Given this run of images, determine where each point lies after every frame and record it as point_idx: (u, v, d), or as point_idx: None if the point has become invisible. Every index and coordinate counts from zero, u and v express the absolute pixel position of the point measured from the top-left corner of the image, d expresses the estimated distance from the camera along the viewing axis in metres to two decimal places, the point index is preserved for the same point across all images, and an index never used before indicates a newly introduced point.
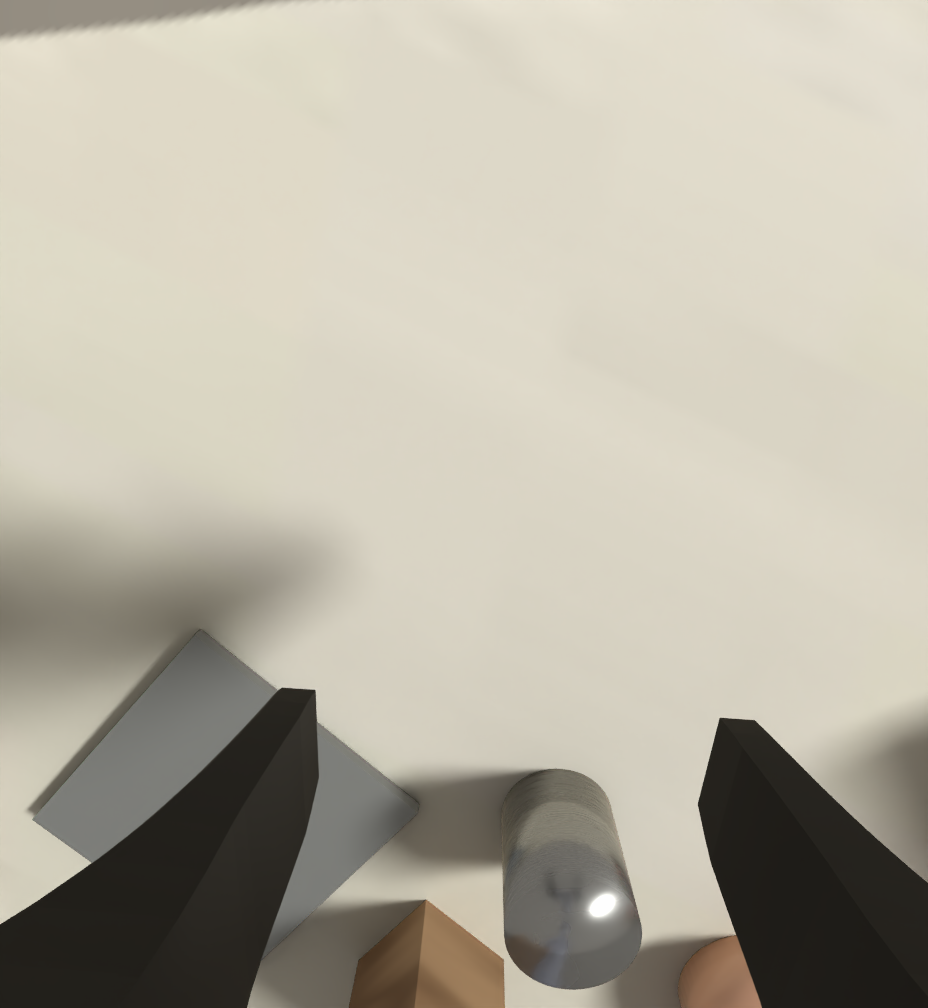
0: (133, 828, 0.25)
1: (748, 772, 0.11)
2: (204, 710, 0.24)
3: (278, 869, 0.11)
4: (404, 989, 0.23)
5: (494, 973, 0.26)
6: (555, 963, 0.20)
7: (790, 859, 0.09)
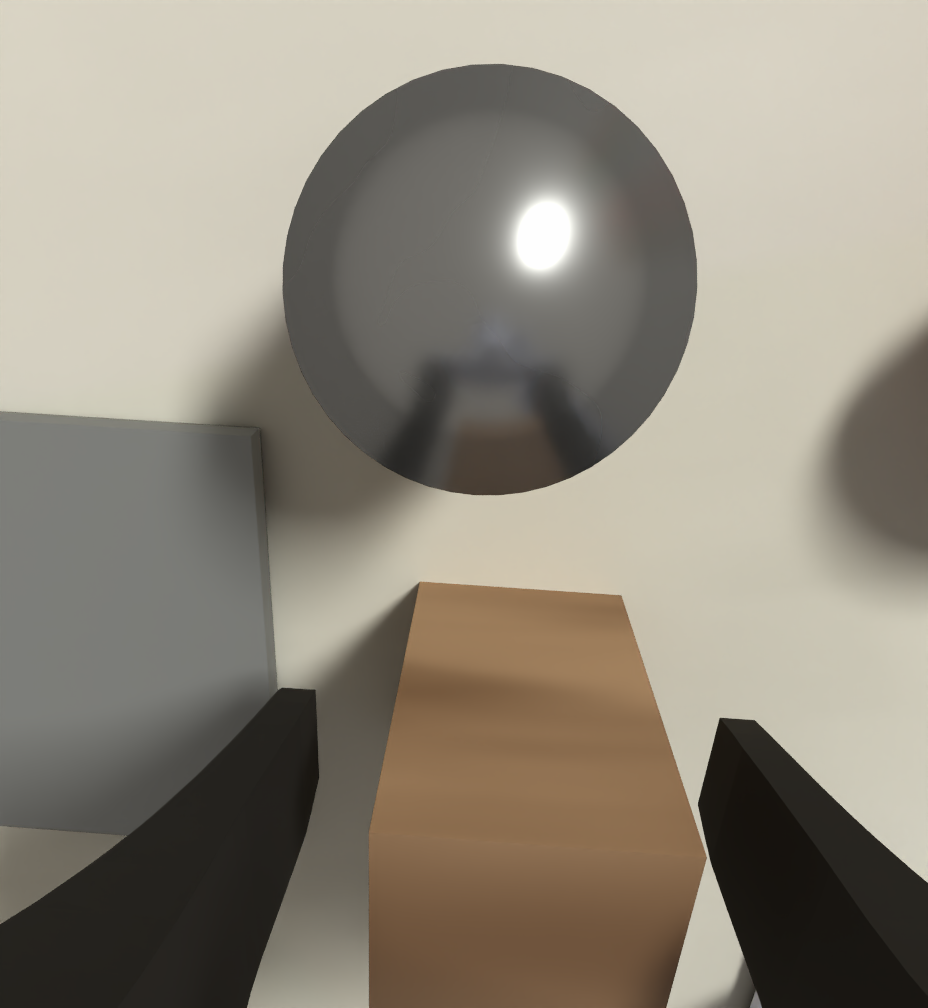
0: None
1: (748, 772, 0.11)
2: None
3: (278, 869, 0.11)
4: None
5: (602, 618, 0.13)
6: (514, 415, 0.07)
7: (790, 859, 0.09)
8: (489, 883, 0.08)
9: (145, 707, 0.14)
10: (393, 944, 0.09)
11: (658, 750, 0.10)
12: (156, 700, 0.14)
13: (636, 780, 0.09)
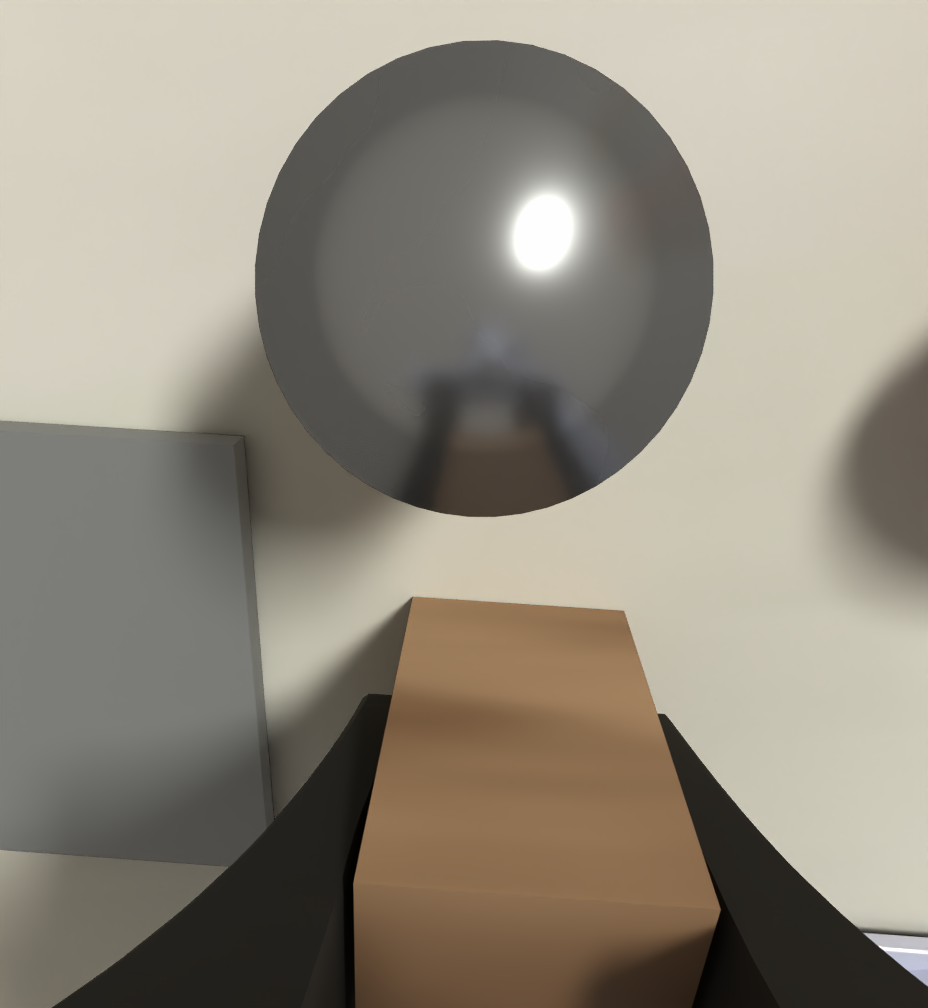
0: None
1: None
2: None
3: None
4: None
5: (604, 636, 0.12)
6: (511, 431, 0.06)
7: None
8: (483, 936, 0.08)
9: (127, 726, 0.14)
10: (381, 997, 0.08)
11: (666, 785, 0.09)
12: (138, 719, 0.14)
13: (642, 820, 0.08)
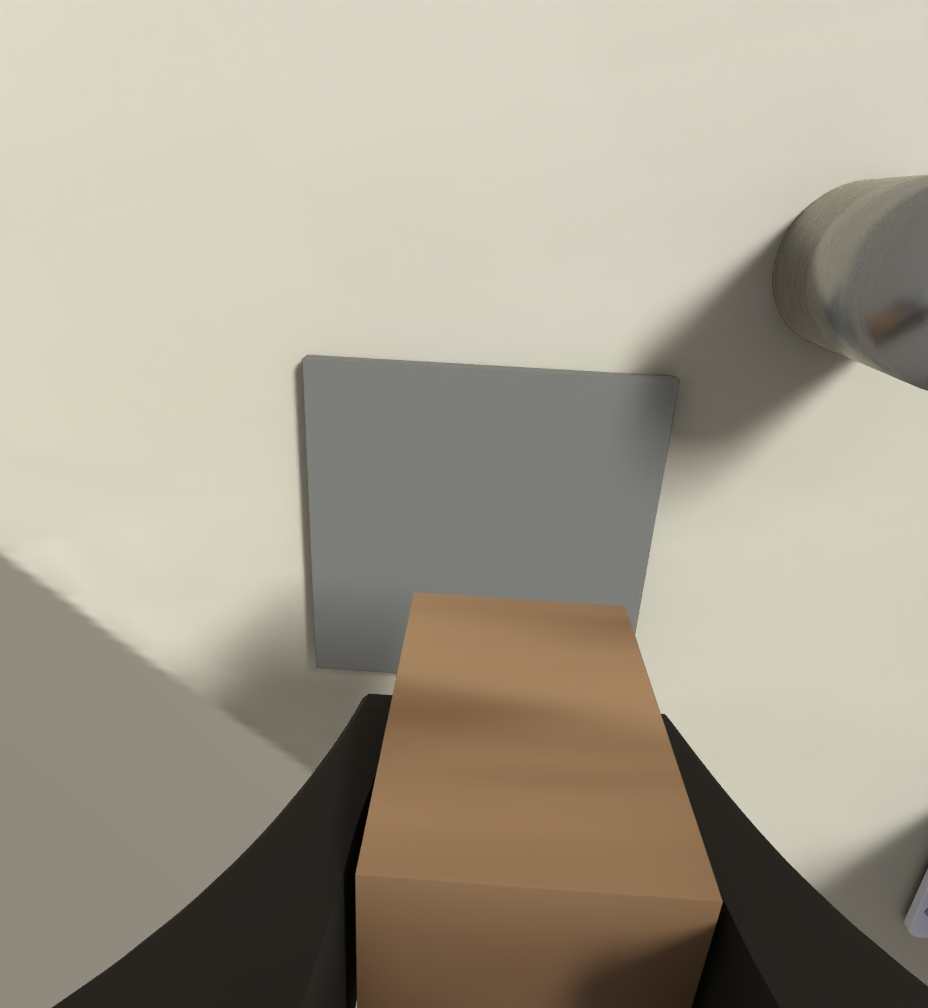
0: (407, 612, 0.21)
1: None
2: (375, 435, 0.19)
3: None
4: None
5: (605, 632, 0.12)
6: None
7: None
8: (486, 928, 0.08)
9: (554, 578, 0.21)
10: (383, 990, 0.08)
11: (667, 779, 0.09)
12: (563, 573, 0.20)
13: (645, 814, 0.08)
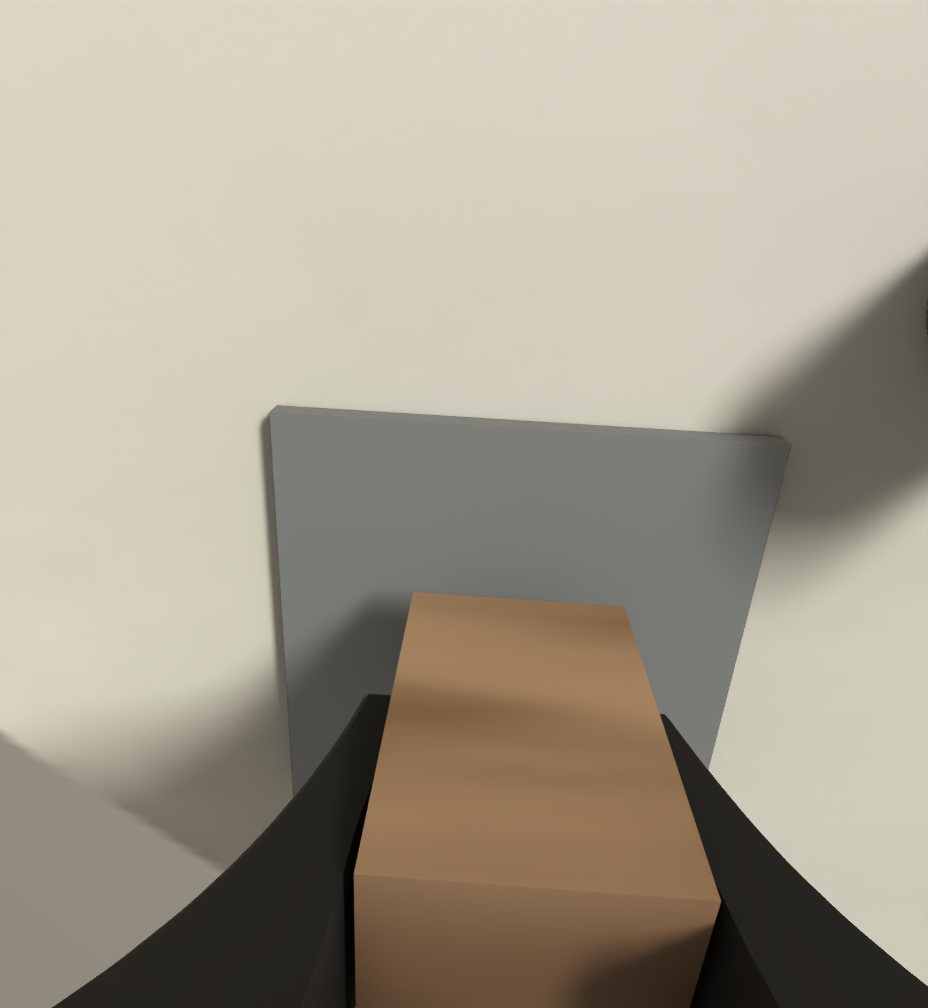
0: None
1: None
2: (370, 514, 0.14)
3: None
4: None
5: (604, 631, 0.12)
6: None
7: None
8: (484, 927, 0.08)
9: None
10: (381, 990, 0.08)
11: (666, 778, 0.09)
12: None
13: (642, 812, 0.08)
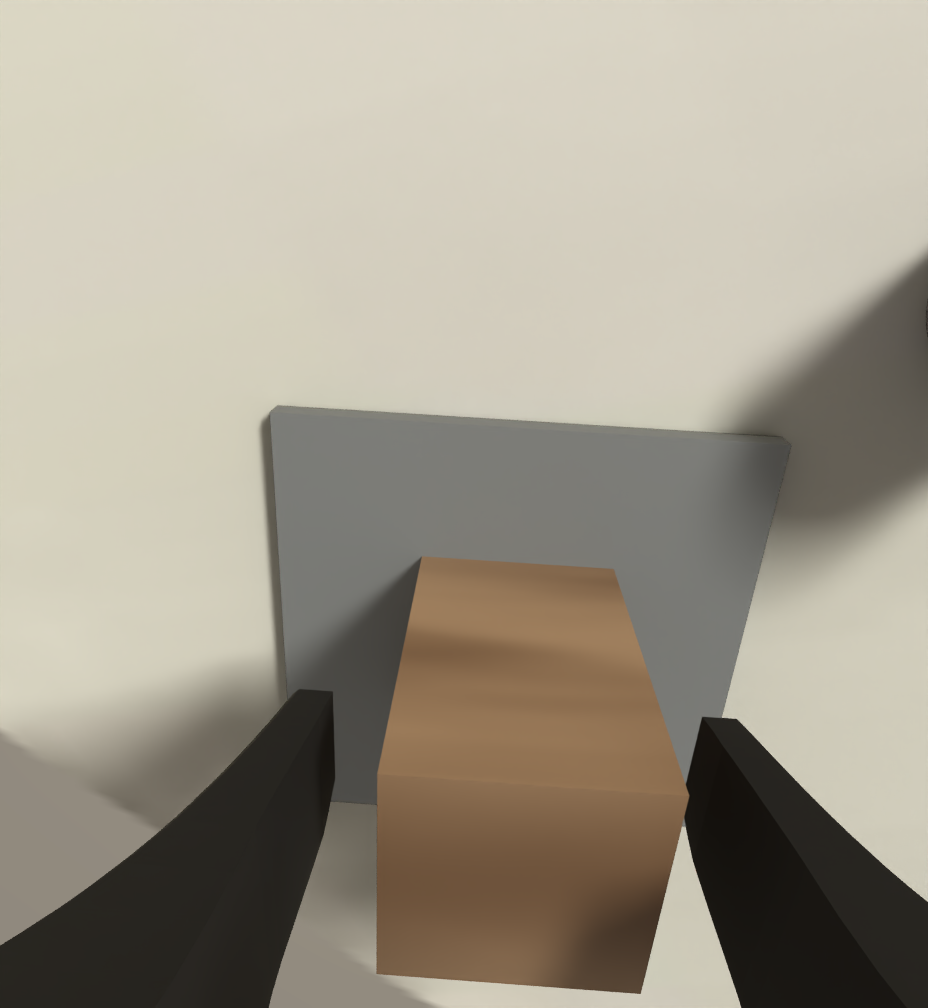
0: None
1: (728, 771, 0.11)
2: (370, 514, 0.14)
3: (298, 871, 0.11)
4: None
5: (595, 589, 0.13)
6: None
7: (767, 858, 0.09)
8: (488, 822, 0.09)
9: None
10: (399, 882, 0.10)
11: (646, 705, 0.10)
12: None
13: (625, 730, 0.10)
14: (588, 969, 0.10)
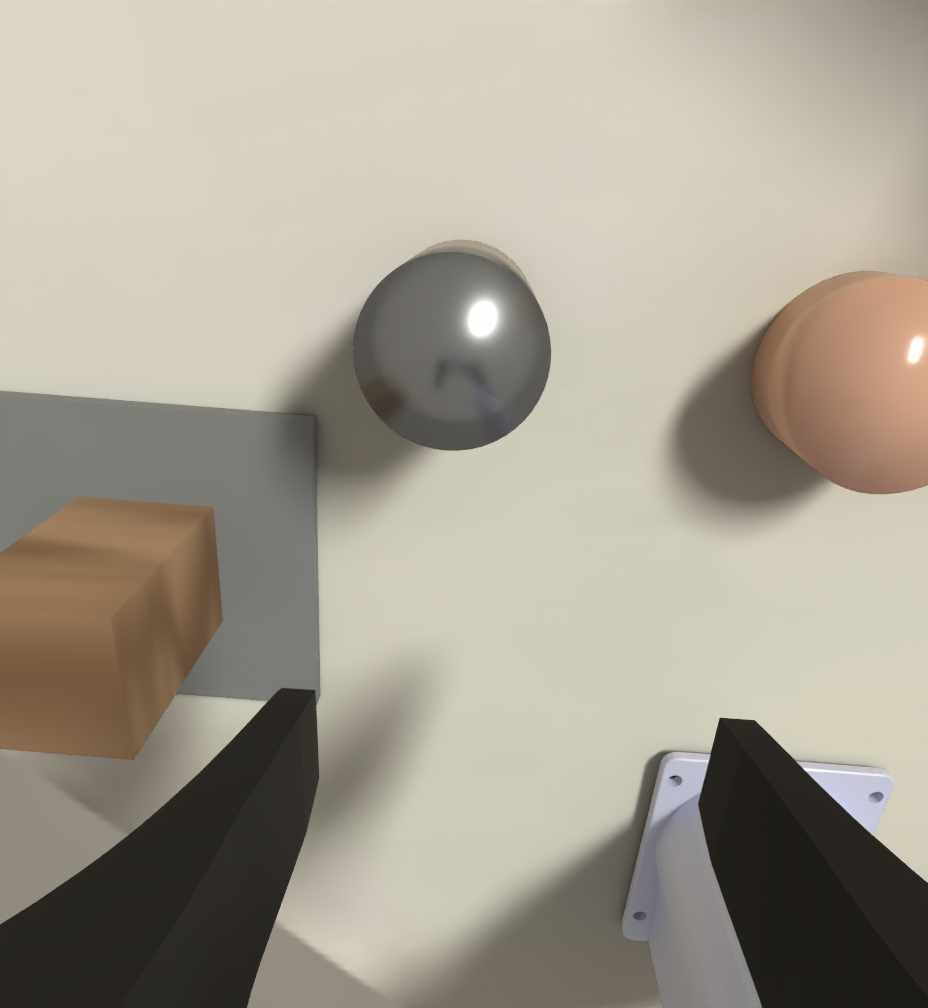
0: None
1: (748, 772, 0.11)
2: (38, 465, 0.20)
3: (278, 870, 0.11)
4: None
5: (183, 518, 0.19)
6: (465, 410, 0.14)
7: (790, 859, 0.09)
8: (1, 637, 0.15)
9: (230, 601, 0.22)
10: None
11: (139, 578, 0.16)
12: (238, 596, 0.22)
13: (109, 590, 0.16)
14: (95, 741, 0.16)
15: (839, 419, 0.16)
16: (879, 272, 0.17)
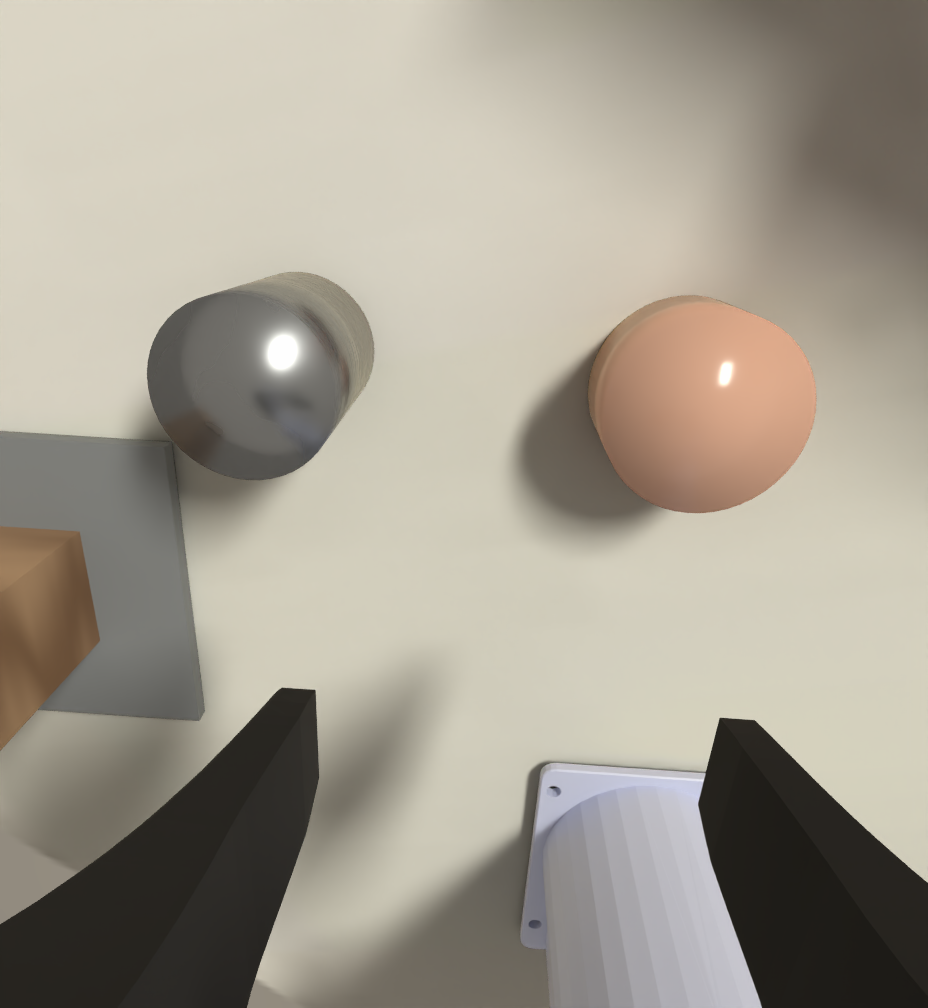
0: None
1: (748, 772, 0.11)
2: None
3: (278, 869, 0.11)
4: None
5: (44, 543, 0.20)
6: (262, 442, 0.15)
7: (790, 859, 0.09)
8: None
9: (105, 622, 0.22)
10: None
11: None
12: (112, 617, 0.22)
13: None
14: None
15: (648, 441, 0.17)
16: (697, 297, 0.18)
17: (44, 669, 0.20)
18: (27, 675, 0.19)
